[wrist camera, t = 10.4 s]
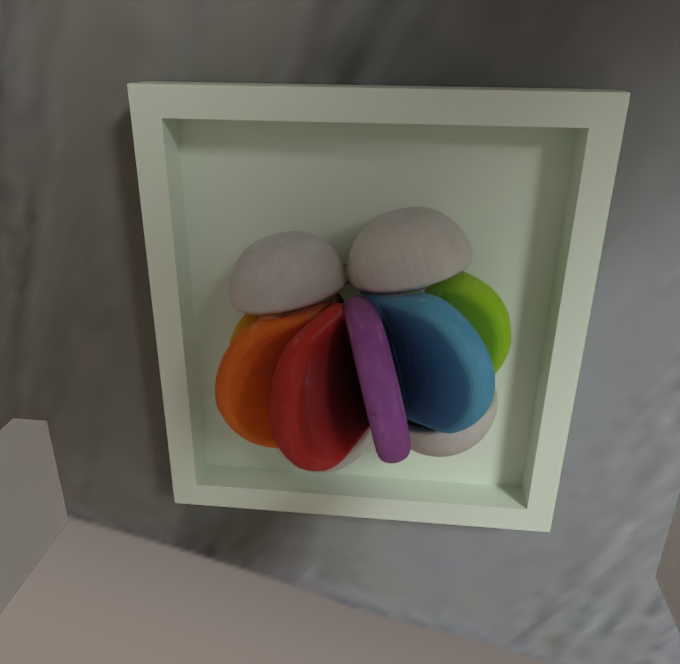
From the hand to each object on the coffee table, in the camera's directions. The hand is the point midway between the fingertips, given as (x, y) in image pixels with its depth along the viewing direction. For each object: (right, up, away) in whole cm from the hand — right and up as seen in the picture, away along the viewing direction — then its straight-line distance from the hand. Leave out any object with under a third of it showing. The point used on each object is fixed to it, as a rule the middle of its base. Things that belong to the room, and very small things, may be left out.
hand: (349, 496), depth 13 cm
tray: (+1, +4, +11) cm, 11 cm away
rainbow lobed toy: (+1, +4, +10) cm, 11 cm away
